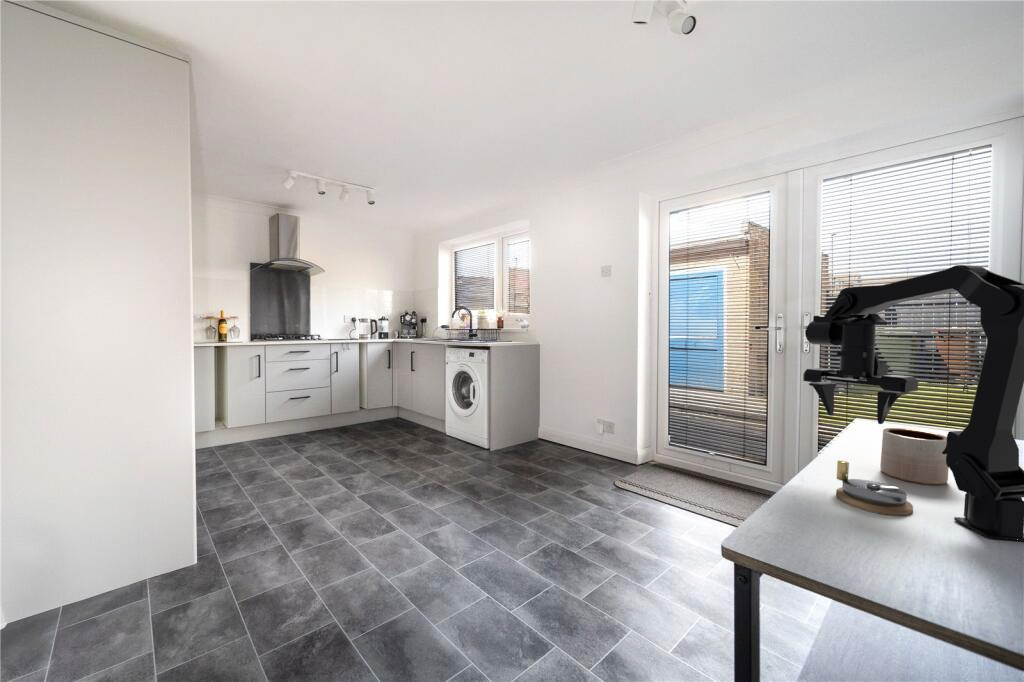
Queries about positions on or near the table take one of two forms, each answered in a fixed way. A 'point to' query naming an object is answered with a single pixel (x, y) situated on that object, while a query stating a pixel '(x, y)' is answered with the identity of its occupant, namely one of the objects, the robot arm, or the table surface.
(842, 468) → the dial
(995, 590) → the table surface
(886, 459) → the planter
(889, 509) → the stand
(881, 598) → the table surface
